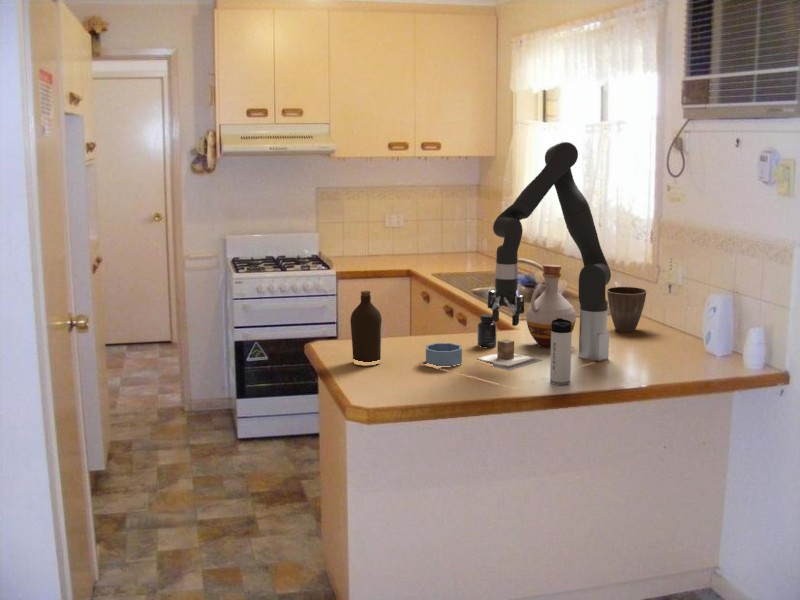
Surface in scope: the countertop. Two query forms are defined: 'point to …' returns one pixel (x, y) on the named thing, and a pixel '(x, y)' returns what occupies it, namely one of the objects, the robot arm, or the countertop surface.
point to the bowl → (444, 354)
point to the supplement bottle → (487, 331)
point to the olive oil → (366, 330)
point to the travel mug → (560, 351)
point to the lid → (506, 355)
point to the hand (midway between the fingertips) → (505, 323)
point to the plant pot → (626, 307)
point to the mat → (518, 365)
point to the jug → (548, 307)
